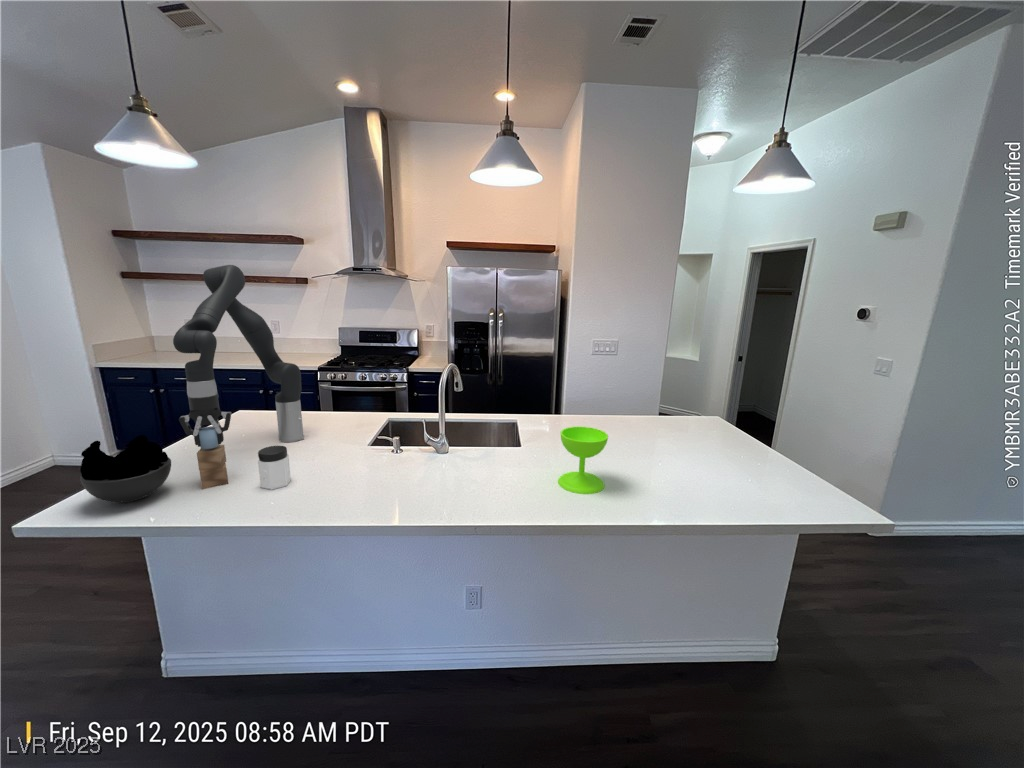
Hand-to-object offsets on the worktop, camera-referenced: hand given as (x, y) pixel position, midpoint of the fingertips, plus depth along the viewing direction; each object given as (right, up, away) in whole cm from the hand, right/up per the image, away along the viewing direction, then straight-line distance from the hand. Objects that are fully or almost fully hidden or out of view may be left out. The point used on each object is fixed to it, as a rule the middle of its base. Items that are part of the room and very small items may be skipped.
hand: (209, 444), depth 134 cm
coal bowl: (-17, -15, -9) cm, 24 cm away
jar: (+20, -14, +3) cm, 24 cm away
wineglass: (+122, -15, +10) cm, 123 cm away
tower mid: (0, -7, +2) cm, 7 cm away
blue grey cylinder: (0, -1, 0) cm, 1 cm away
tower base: (0, -13, +3) cm, 13 cm away
